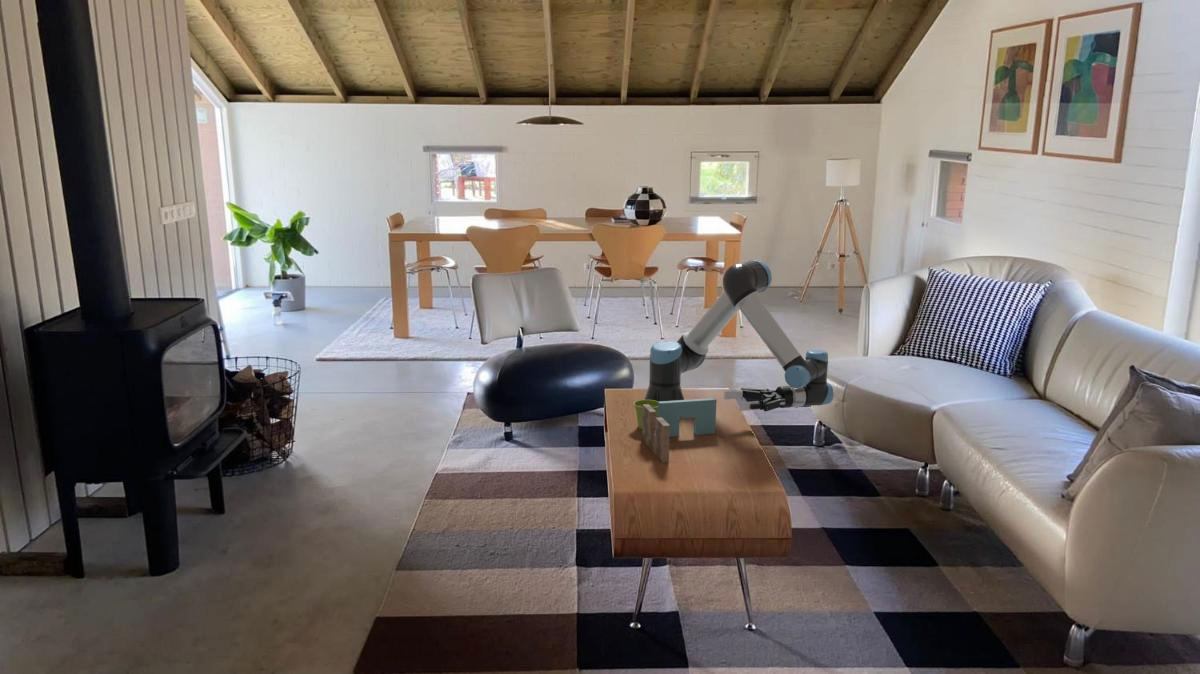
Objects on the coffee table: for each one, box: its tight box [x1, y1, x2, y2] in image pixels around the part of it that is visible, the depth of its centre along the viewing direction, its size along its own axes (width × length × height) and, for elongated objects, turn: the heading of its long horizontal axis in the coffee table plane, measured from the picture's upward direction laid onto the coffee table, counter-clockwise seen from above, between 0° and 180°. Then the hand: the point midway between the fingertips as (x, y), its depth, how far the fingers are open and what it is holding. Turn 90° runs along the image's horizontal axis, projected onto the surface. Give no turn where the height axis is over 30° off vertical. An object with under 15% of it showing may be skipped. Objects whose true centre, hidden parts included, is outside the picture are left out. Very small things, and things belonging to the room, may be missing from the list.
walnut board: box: [641, 404, 671, 463], centre depth 269 cm, size 22×2×12 cm, turn 14°
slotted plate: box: [657, 397, 717, 438], centre depth 284 cm, size 2×20×12 cm, turn 104°
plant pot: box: [633, 399, 658, 430], centre depth 291 cm, size 9×9×9 cm
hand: (732, 400), depth 286 cm, fingers open, 13 cm apart
